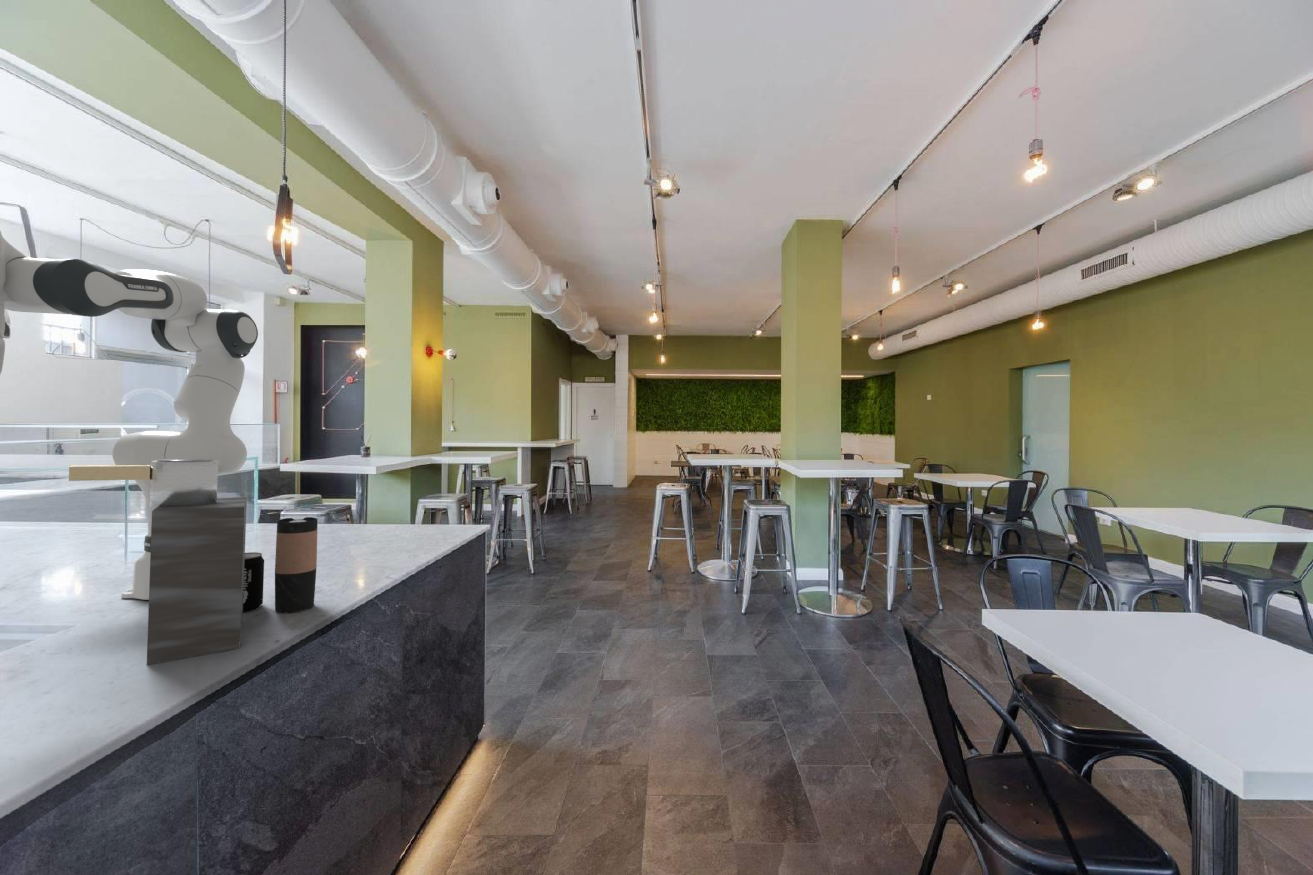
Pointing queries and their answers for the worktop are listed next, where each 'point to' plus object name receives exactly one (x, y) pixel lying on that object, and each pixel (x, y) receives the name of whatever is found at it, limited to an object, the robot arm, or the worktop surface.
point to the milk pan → (162, 480)
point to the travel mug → (295, 564)
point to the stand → (196, 580)
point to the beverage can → (253, 581)
